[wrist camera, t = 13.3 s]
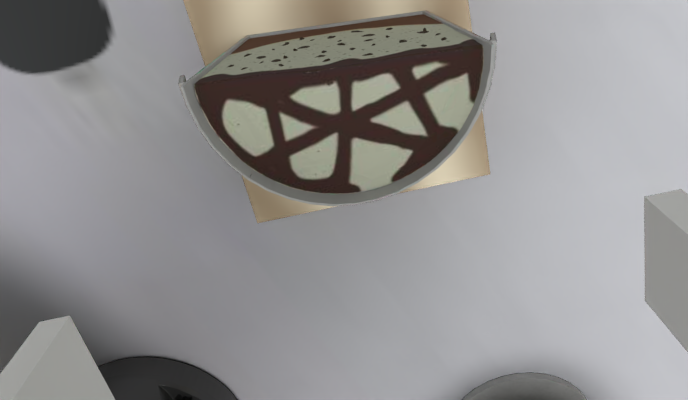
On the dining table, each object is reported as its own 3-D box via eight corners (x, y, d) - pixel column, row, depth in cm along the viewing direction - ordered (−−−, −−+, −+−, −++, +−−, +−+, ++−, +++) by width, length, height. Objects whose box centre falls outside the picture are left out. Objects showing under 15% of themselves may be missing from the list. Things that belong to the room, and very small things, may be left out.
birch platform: (266, 188, 39) (257, 223, 34) (198, -28, 33) (176, -20, 28) (471, 144, 38) (490, 174, 33) (439, -88, 32) (456, -91, 27)
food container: (242, 149, 32) (206, 236, 23) (217, 39, 30) (166, 89, 21) (461, 121, 32) (510, 199, 23) (455, 6, 29) (509, 42, 20)
